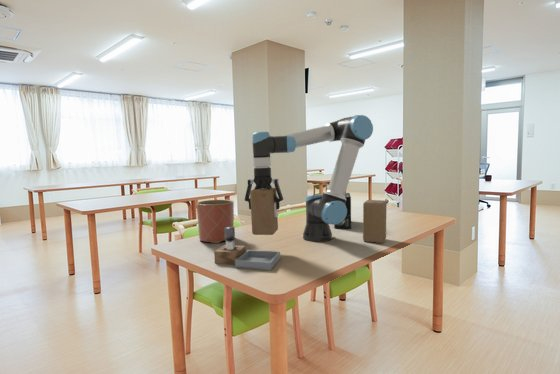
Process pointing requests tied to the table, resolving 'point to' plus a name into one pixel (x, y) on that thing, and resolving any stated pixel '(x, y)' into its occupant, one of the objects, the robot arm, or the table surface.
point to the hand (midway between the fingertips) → (264, 216)
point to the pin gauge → (230, 237)
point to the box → (347, 221)
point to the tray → (258, 260)
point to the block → (374, 221)
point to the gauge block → (228, 254)
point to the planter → (214, 219)
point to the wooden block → (263, 211)
